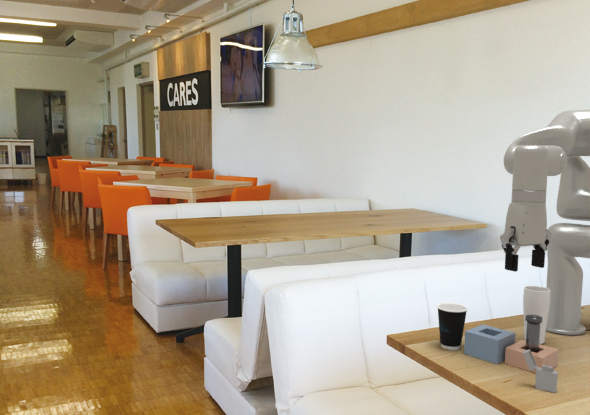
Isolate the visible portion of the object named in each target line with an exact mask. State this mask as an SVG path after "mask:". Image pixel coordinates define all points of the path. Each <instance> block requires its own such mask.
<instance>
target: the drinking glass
mask: <svg viewBox="0 0 590 415" xmlns="http://www.w3.org/2000/svg"><path fill="white" fill-rule="evenodd" d="M522 296H523V298H522V300H523V301H522V307H523V308H522V309H523V310H522V311H523V340H525V341H526V330H527V321H526V320H525V316H526V315H538V316H541V317H542V318H543V319H542V323H540V339H539V344H540V345H543V344H545V342H546V334H547V330H546V327H547V321H548V315H549V308H550V296H551V290H550V289H548V288H546V287H544V286H539V285H526V286H524V287H523V295H522Z"/></svg>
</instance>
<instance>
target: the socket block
mask: <svg viewBox="0 0 590 415" xmlns="http://www.w3.org/2000/svg"><path fill="white" fill-rule="evenodd" d="M515 343H516V332H514V331H510V330H507V329H502V328H499V327H494V326H491V325H487V324H481V325H478V326H475V327H473V328H469V329H467V330H465V331H464V345H463V347H464V348H463V349H464V350H463V354H464V355H466V356H469V357H472V358H476V359H480V360H482V361H486V362H489V363H492V364H495V365H499V364H500V363H502V362H505V350H506V347H508V346H510V345H513V344H515Z"/></svg>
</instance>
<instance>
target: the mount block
mask: <svg viewBox="0 0 590 415" xmlns="http://www.w3.org/2000/svg"><path fill="white" fill-rule="evenodd" d="M525 348H526V341H525V340H524V339H522V340H519V341H517V342H515V344H513V345H510V346H508V347H506V350H505V361H504V364H506V365H509V366H512V367H515V368H518V369H522V370H525V371H527V372H528V371H529V372H531V373H534V374H536V369H535V370H530V369H529V367H528V365H527V362H526V360H525V358H524V355H523V351H524V350H525ZM559 350H560V349H558V348H555V347H551V346H547V345H543V344H539V352H538V353H535V352H532V351H531V353H532V355H533V357H534V360H535V362H536V364H537V367H540V368H542V365H548V366H552V367H553V368H556V367H557V366H558V364H559V353H560V352H559Z"/></svg>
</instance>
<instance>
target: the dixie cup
mask: <svg viewBox="0 0 590 415" xmlns="http://www.w3.org/2000/svg"><path fill="white" fill-rule="evenodd" d="M436 308H437V316H438V329H439V330H438V331H439V343H440V347H441V348H442V347H443V348H442V349H444V348H445V350H447V349H448V351H459V350H460V348H461V345H462V343H463V342H462V341H463V335H464V330H465V322H466V317H467V311H468V309H469V308H468V306H466V305H463V304H460V303H456V302H455V303H453V302H443V303H438V304H437V305H436Z"/></svg>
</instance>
